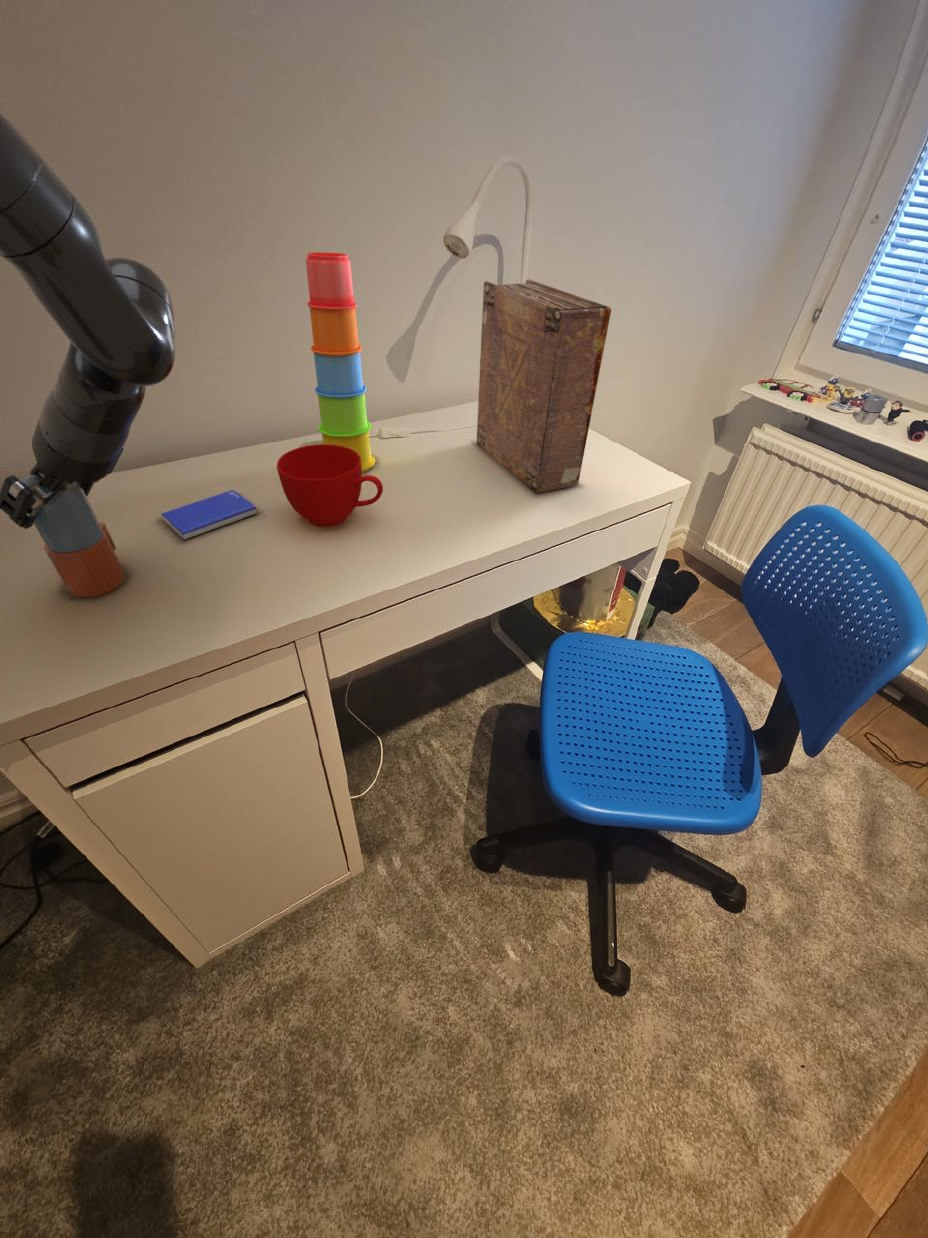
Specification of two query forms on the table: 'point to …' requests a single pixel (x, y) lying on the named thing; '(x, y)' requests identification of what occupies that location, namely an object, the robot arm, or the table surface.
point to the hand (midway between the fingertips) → (50, 506)
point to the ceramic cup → (324, 482)
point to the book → (538, 380)
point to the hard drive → (208, 514)
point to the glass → (68, 522)
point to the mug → (89, 567)
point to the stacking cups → (337, 354)
